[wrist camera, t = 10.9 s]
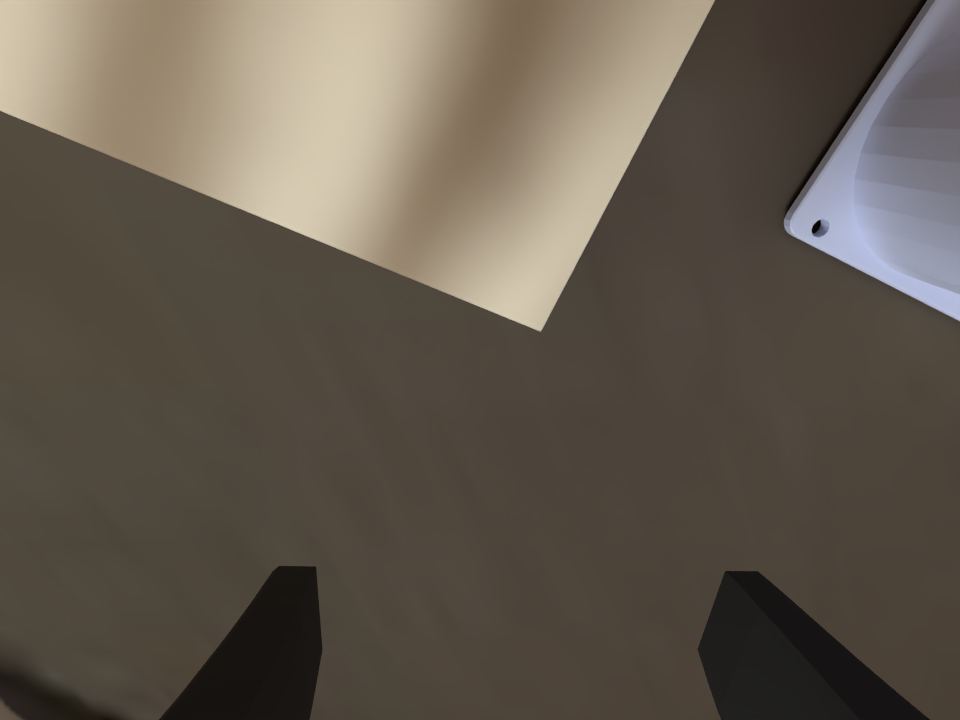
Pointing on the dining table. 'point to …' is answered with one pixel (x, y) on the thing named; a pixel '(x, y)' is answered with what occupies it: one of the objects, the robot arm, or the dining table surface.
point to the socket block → (370, 117)
